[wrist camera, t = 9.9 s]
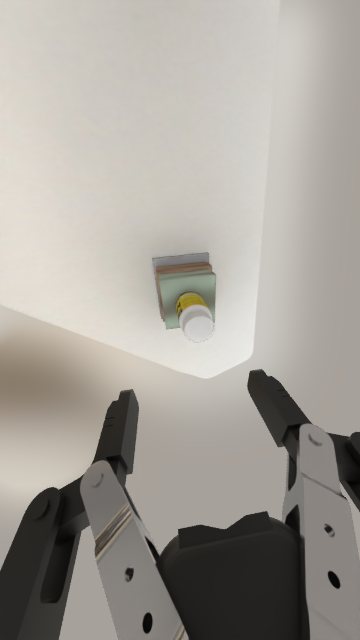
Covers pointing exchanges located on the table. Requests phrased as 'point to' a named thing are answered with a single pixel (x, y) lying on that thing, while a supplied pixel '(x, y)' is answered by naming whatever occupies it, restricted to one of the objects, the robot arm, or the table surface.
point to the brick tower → (184, 287)
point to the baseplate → (177, 261)
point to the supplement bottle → (194, 316)
